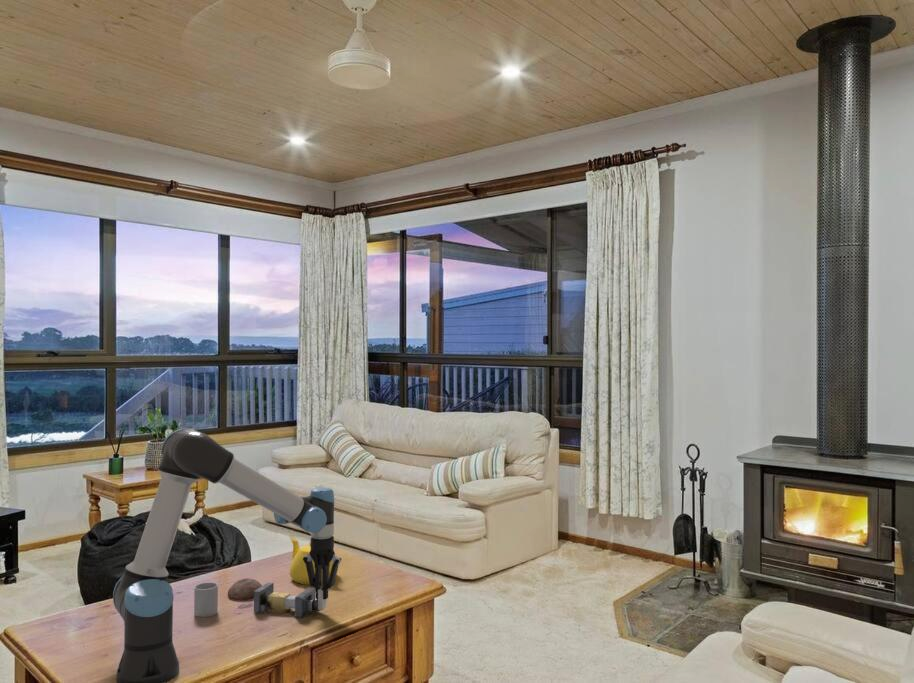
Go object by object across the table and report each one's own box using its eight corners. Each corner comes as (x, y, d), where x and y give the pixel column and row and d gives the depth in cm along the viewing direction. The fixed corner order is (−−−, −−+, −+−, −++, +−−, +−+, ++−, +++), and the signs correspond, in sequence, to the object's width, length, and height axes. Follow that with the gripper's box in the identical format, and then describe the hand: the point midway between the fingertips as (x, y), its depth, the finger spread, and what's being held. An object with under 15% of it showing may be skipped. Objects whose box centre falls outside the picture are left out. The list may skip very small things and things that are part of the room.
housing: (315, 607, 230) (315, 586, 230) (302, 618, 221) (302, 596, 221) (268, 602, 235) (268, 582, 235) (253, 612, 225) (253, 591, 226)
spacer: (284, 612, 226) (284, 597, 226) (267, 611, 227) (267, 595, 227) (290, 608, 230) (290, 593, 230) (273, 606, 231) (274, 591, 231)
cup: (197, 619, 220) (197, 591, 220) (189, 609, 228) (189, 582, 228) (220, 614, 224) (220, 586, 225) (211, 605, 232) (211, 578, 233)
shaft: (322, 608, 226) (322, 596, 226) (317, 613, 223) (317, 600, 223) (289, 605, 229) (289, 593, 230) (283, 609, 226) (283, 597, 226)
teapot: (272, 576, 262) (272, 540, 263) (309, 565, 276) (309, 531, 276) (314, 591, 247) (314, 552, 247) (351, 578, 260) (351, 542, 261)
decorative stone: (221, 600, 238) (221, 584, 238) (239, 588, 250) (239, 573, 250) (252, 602, 236) (252, 586, 236) (268, 590, 248) (268, 575, 248)
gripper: (345, 534, 227) (345, 606, 226) (309, 531, 230) (309, 603, 230) (335, 540, 219) (335, 614, 219) (298, 537, 223) (298, 611, 222)
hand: (321, 608), depth 224 cm, fingers closed
